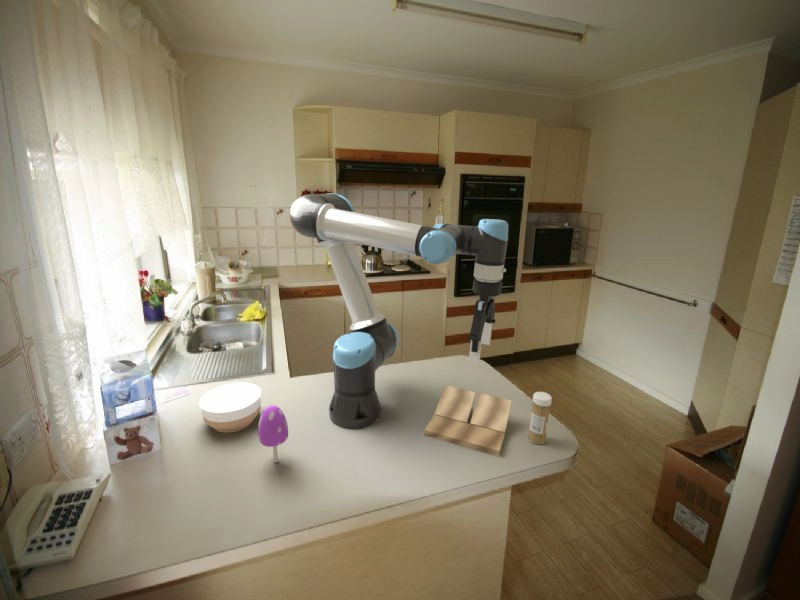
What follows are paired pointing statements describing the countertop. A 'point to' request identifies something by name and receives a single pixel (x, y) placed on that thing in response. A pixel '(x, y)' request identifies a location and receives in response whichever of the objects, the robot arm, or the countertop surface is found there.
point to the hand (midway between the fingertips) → (479, 352)
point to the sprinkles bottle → (539, 417)
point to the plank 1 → (455, 404)
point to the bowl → (231, 406)
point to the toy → (273, 429)
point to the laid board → (465, 434)
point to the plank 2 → (491, 412)
